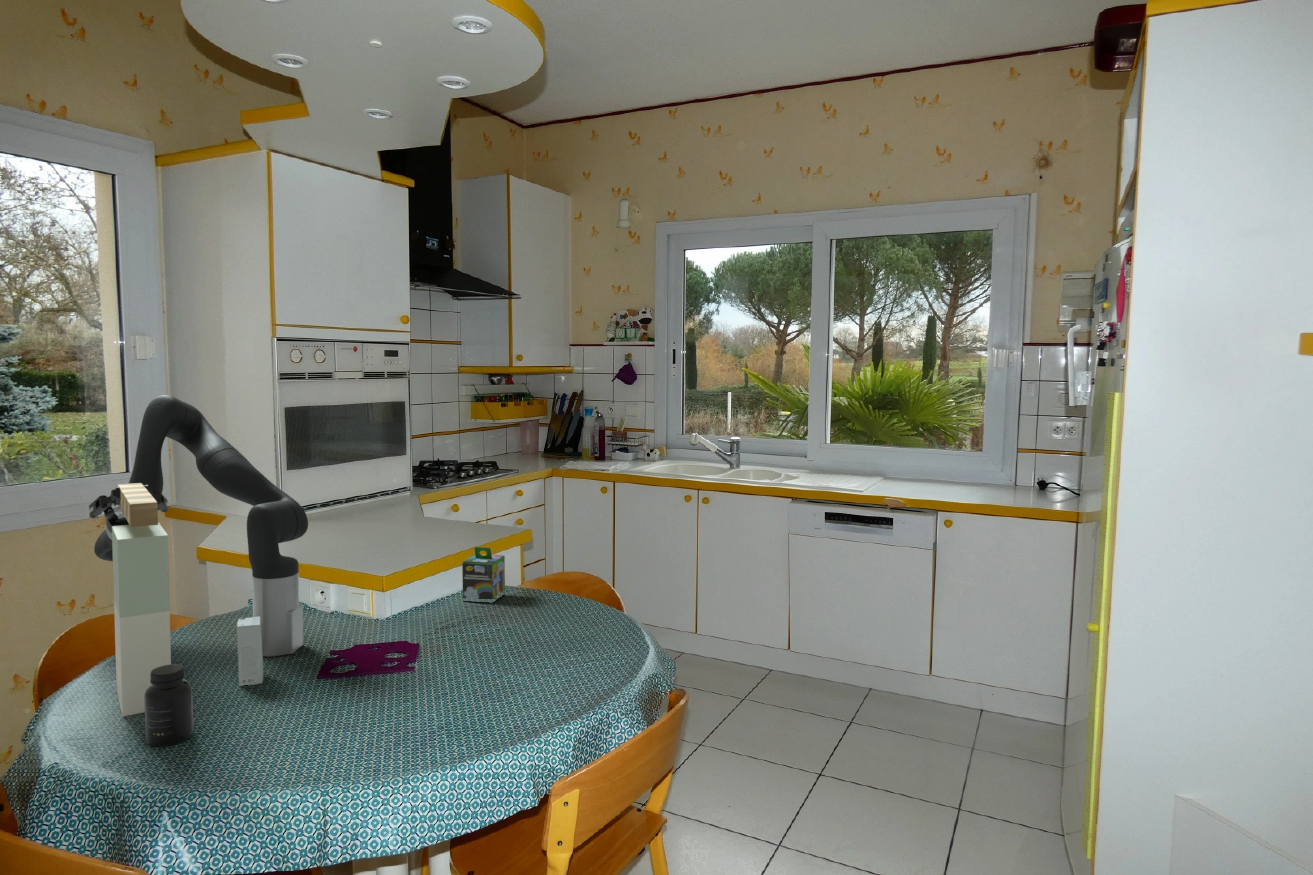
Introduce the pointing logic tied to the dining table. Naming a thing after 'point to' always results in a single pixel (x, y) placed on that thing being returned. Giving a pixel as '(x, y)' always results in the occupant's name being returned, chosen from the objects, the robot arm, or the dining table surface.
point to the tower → (140, 610)
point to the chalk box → (483, 575)
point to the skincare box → (249, 651)
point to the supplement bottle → (168, 706)
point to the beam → (138, 505)
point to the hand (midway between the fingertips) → (132, 490)
